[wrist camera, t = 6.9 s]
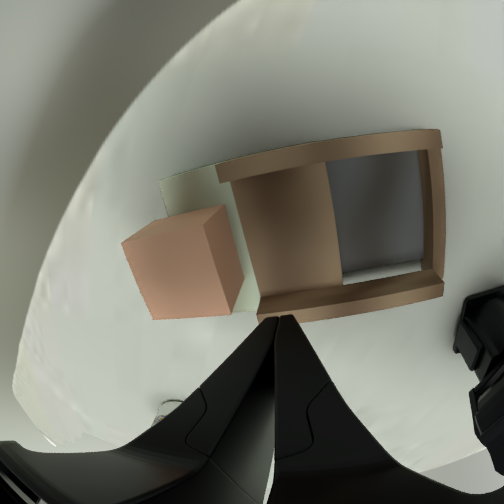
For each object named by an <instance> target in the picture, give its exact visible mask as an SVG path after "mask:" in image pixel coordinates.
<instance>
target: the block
mask: <svg viewBox="0 0 504 504" xmlns="http://www.w3.org/2000/svg"><path fill="white" fill-rule="evenodd" d="M121 245H122V247H123V250H124V253H125V255H126V258H127V260H128V263H129V266H130V268H131V270H132V273H133V275H134V278H135V280H136V282H137V285H138V287H139V289H140V292H141V294H142V296H143V299H144V301H145V303H146V305H147V307H148V309H149V312H150V314H151V316H152V318H153V320H161V319H180V318H195V317H209V316H221V315H231V314H232V311H233V308H234V306H235V303H236V300H237V298H238V295H239V292H240V290H241V287H242V284H243V282H244V279H245V278H244V274H243V271H242V267H241V263H240V260H239V256H238V252H237V249H236V245H235V242H234V238H233V234H232V230H231V227H230V223H229V219H228V216H227V212H226V208H225V204H223V205H218V206H214V207H209V208H205V209H200V210H196V211H192V212H188V213H183V214H179V215H175V216H171V217H167V218H163V219H159V220H155V221H153V222H151V223H150V224H148V225H147V226H145V227H144V228H142V229H141V230H139V231H138V232H136V233H135V234H133V235H132V236H131V237H129V238H128V239H126V240H125V241H123V242H122V243H121Z"/></svg>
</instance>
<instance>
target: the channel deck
mask: <svg viewBox="0 0 504 504" xmlns="http://www.w3.org/2000/svg"><path fill="white" fill-rule="evenodd" d="M441 148H443V146H442V139H441V133H440V130H438V129H417V130H410V131H397V132H386V133H376V134H367V135H359V136H352V137H344V138H337V139H331V140H325V141H315V142H309V143H304V144H298V145H293V146H288V147H283V148H278V149H273V150H269V151H264V152H260V153H255V154H251V155H247V156H243V157H239V158H235V159H231V160H227V161H223V162H219V163H215V164H212V165H208V166H205V167H201V168H197V169H194V170H191V171H187V172H184V173H181V174H177V175H174V176H171V177H168V178H166V179H163V180H160V181H158V183H159V187H160V190H161V193H162V197H163V200H164V203H165V207H166V210H167V213H168V216H169V217H171V216H175V215H179V214H183V213H188V212H192V211H196V210H200V209H205V208H209V207H214V206H218V205H223V204H225V208H226V212H227V216H228V219H229V223H230V227H231V230H232V234H233V238H234V242H235V245H236V249H237V252H238V256H239V260H240V263H241V267H242V271H243V274H244V278H245V279H244V282H243V284H242V287H241V290H240V292H239V295H238V298H237V300H236V303H235V306H234V308H233V311H232V313H235V312H245V311H254V310H257V314H256V315H257V319H258V322H259V324H260V323H261V322H262V321H263V320H264V319H265V318H266V317H272V316H279V317H280V316H281V315H288V314H293V315H294V317H295V318H296V320H297V322H298V323H303V322H311V321H318V320H325V319H331V318H338V317H344V316H350V315H356V314H362V313H367V312H373V311H378V310H383V309H388V308H393V307H398V306H403V305H407V304H412V303H416V302H421V301H425V300H429V299H433V298H437V297H441V296H443V291H444V281H443V280H442V278H443V273H444V260H445V237H446V210H445V187H444V174H443V164H442V155H441ZM418 259H422V265H421V268H422V270H421V271H417V272H412V273H407V274H402V275H397V276H391V277H386V278H381V279H375V280H370V281H364V282H359V283H353V284H347V285H343V279H342V273H347V272H353V271H358V270H364V269H370V268H375V267H381V266H386V265H392V264H397V263H402V262H408V261H413V260H418Z"/></svg>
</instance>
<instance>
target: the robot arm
mask: <svg viewBox="0 0 504 504" xmlns="http://www.w3.org/2000/svg"><path fill="white" fill-rule="evenodd" d="M469 302H470V303H469ZM468 303H469V304H468ZM453 351H454V352H455V353H456V354H457V353H461V354H462V356H463V358H464V360H465V362H466V364H467V366H468V368H469V370H470V371H475V373H476V375H477V377H478V379H479V381H480V383H479V384H478V385H477V386H476V387H475V388H473V389H472V390H471V391H470V392H469V398H470V404H471V410H472V417H473V424H474V431H475V435H476V436H477V438H478V439H479V440H480V442H481V443H482V444H483V445H484V446H485V447H487V449H488V451H489V453H490V456H491V459H492V461H493V465H494V468H495V471H497V472H498V473H500V474H501V475H503V476H504V286H502V287H499V288H496V289H493V290H490V291H487V292H484V293H480V294H477V295H474V296H470V297H468V298H467V299H466V300H465V301H464V305H463V310H462V315H461V320H460V323H459V327H458V331H457V335H456V339H455V344H454V348H453ZM274 447H275V452H274ZM273 452H274V460H275V464H274V478H273V484H272V488H271V492H270V494H269V498H268V501H267V504H504V486H503V487H501V488H500V489H498V490H495V491H493V492H490V493H485V494H469V493H465V492H461V491H459V490H456V489H454V488H451V487H448V486H446V485H444V484H441V483H439V482H437V481H434V480H432V479H430V478H428V477H425V476H423V475H421V474H419V473H417V472H415V471H413V470H411V469H409V468H407V467H405V466H403V465H402V464H400V463H399V462H398V461H396V460H395V459H394V458H393V457H392V456H391V455H390V454H389V453H388V452H387V451H386V450H385V449H384V448H383V447H382V446H381V444H380V443H379V442H378V441H377V440H376V439H375V438H374V436H373V435H372V434H371V433H370V432H369V431H368V430H367V428H366V427H365V426H364V425H363V424H362V423H361V421H360V420H359V419H358V418H357V417H356V415H355V414H354V413H353V412H352V410H351V409H350V408H349V406H348V405H347V404H346V402H345V401H344V399H343V398H342V396H341V395H340V393H339V391H338V390H337V388H336V386H335V385H334V383H333V382H332V380H331V378H330V376H329V375H328V373H327V371H326V370H325V368H324V366H323V364H322V363H321V361H320V359H319V358H318V356H317V354H316V352H315V351H314V349H313V347H312V346H311V344H310V342H309V340H308V339H307V337H306V335H305V334H304V332H303V330H302V328H301V327H300V325H299V323H298V322H297V320H296V318H295V317H294V315H293V314H288V315H281V316H280V317H279V316H272V317H266V318H265V319H264V320H263V321H262V322H261V323H260V324H259V325H258V326H257V327H256V328H255V329H254V330H253V332H252V333H251V334H250V335H249V336H248V337H247V338H246V339H245V340H244V341H243V342H242V343H241V344H240V345H239V346H238V347H237V349H236V350H235V351H234V352H233V353H232V354H231V355H230V356H229V357H228V358H227V359H226V360H225V361H224V362H223V363H222V364H221V365H220V366H219V367H218V368H217V369H216V370H215V371H214V372H213V373H212V374H211V375H210V376H209V377H208V378H207V379H206V380H205V381H204V382H203V383H202V384H201V385H200V388H197V389H196V390H195V391H194V392H193V393H192V394H191V395H190V396H189V397H188V398H186V399H185V400H184V401H183V402H182V403H181V404H180V405H179V406H178V407H176V408H175V409H174V410H173V411H172V412H170V413H169V414H168V415H167V416H165V417H164V418H163V419H161V420H160V421H159V422H157V423H156V424H155V425H153V426H152V427H151V428H149V429H148V430H146V431H145V432H144V433H142V434H141V435H139V436H138V437H137V438H135V439H134V440H132V441H131V442H129V443H128V444H126V445H124V446H122V447H120V448H117V449H114V450H109V451H101V452H85V453H41V452H34V451H30V450H27V449H25V448H23V447H22V446H21V445H20V444H18V443H17V442H16V441H0V504H263V500H264V495H265V491H266V486H267V482H268V477H269V472H270V467H271V462H272V457H273Z"/></svg>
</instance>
